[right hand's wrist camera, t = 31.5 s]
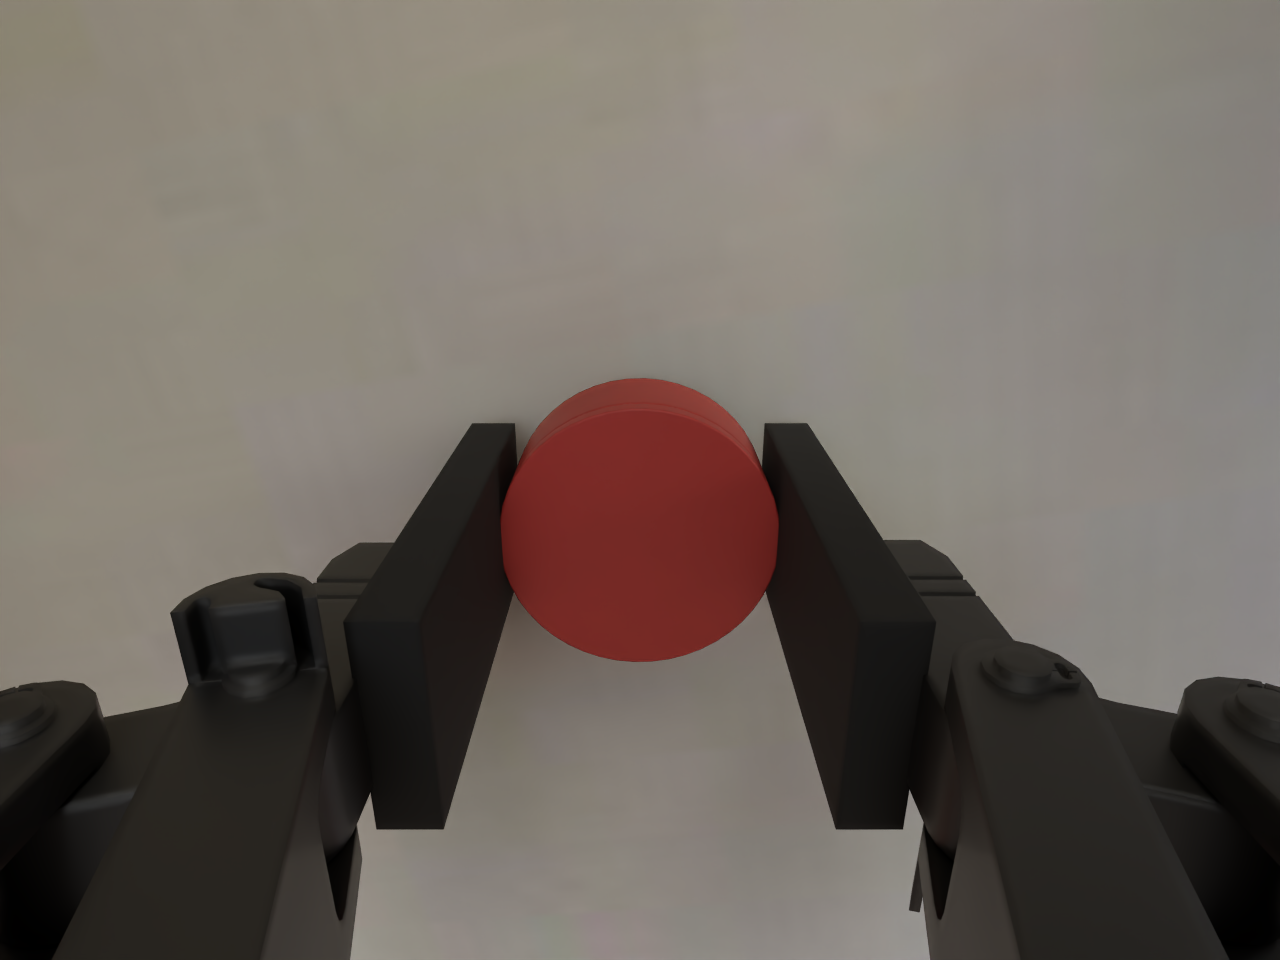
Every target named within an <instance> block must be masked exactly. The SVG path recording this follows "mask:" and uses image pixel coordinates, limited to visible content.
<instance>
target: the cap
mask: <svg viewBox="0 0 1280 960" xmlns="http://www.w3.org/2000/svg"><path fill="white" fill-rule="evenodd" d="M500 524H501V538H502V552H503V565H504V571H505V573H506V576H507V578H508V581H509V583H510V586H511V587H512V589H513V591H514V593H515V594H516V596H517V598H518V600H519V601H520V602H521V604H522V605H523V606H524V608H525V609H526V610H527V612H528V613H529V614H530V615H531V616H532V617H533V618H534V619H535V620H536V621H537V622H538V623H539V624H540V625H541V626H542V627H543V628H545V629H546V630H547V631H549V632H550V633H551V634H552V635H554V636H555V637H557V638H558V639H560V640H562V641H563V642H565V643H567V644H568V645H570V646H573V647H575V648H577V649H579V650H581V651H584V652H587V653H590V654H593V655H596V656H599V657H603V658H608V659H613V660H619V661H630V662H651V661H659V660H666V659H671V658H675V657H679V656H683V655H687V654H689V653H692V652H695V651H697V650H700V649H702V648H704V647H706V646H708V645H710V644H712V643H714V642H716V641H717V640H719V639H720V638H722V637H723V636H725V635H726V634H728V633H729V632H731V631H732V630H733V629H734V628H735V627H737V626H738V625H739V624H740V623H741V622H742V621H743V620H744V619H745V618H746V617H747V616H748V615H749V614H750V613H751V611H752V610H753V609H754V608H755V606H756V605H757V603H758V602H759V601H760V599H761V598H762V596H763V595H764V593H765V591H766V589H767V587H768V585H769V583H770V581H771V578H772V576H773V573H774V570H775V567H776V558H777V545H778V530H779V515H778V511H777V507H776V503H775V499H774V496H773V494H772V491H771V489H770V487H769V484H768V482H767V479H766V477H765V474H764V472H763V469H762V467H761V464H760V462H759V459H758V457H757V455H756V452H755V450H754V447H753V445H752V443H751V442H750V440H749V438H748V436H747V435H746V433H745V431H744V430H743V429H742V428H741V426H740V425H739V424H738V423H737V421H736V420H735V419H734V418H733V417H732V416H731V415H730V414H729V413H728V412H727V411H726V410H725V409H724V408H722V407H721V406H720V405H718V404H717V403H716V402H714V401H713V400H711V399H710V398H708V397H706V396H705V395H703V394H701V393H699V392H697V391H695V390H693V389H690V388H688V387H685V386H682V385H680V384H676V383H672V382H668V381H663V380H656V379H646V378H640V379H623V380H616V381H610V382H607V383H603V384H600V385H596V386H593V387H591V388H589V389H586V390H584V391H582V392H580V393H578V394H576V395H574V396H573V397H571V398H569V399H568V400H566V401H564V402H563V403H562V404H561V405H559V406H558V407H557V408H556V409H554V410H553V411H552V412H551V413H550V414H549V415H548V416H547V417H546V418H545V419H544V420H543V421H542V422H541V423H540V425H539V426H538V428H537V429H536V430H535V432H534V433H533V435H532V436H531V438H530V440H529V442H528V443H527V445H526V447H525V449H524V451H523V454H522V456H521V459H520V461H519V464H518V466H517V468H516V471H515V473H514V476H513V478H512V481H511V483H510V486H509V488H508V491H507V494H506V497H505V499H504V502H503V505H502V511H501V516H500Z"/></svg>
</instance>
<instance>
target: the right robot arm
mask: <svg viewBox="0 0 1280 960" xmlns="http://www.w3.org/2000/svg"><path fill="white" fill-rule="evenodd" d="M516 468H517V452H516V436H515V423H472V424H471V426H470V428H469V429H468V431H467V432H466V434H465V435H464V437H463V438H462V440H461V441H460V443H459V444H458V446H457V447H456V449H455V451H454V452H453V454H452V455H451V457H450V458H449V460H448V461H447V463H446V464H445V466H444V467H443V469H442V470H441V472H440V474H439V475H438V477H437V478H436V480H435V481H434V483H433V484H432V486H431V487H430V489H429V490H428V492H427V494H426V495H425V497H424V498H423V500H422V501H421V503H420V504H419V506H418V507H417V509H416V510H415V512H414V513H413V515H412V517H411V518H410V520H409V521H408V523H407V524H406V526H405V527H404V529H403V530H402V532H401V533H400V535H399V536H398V538H397V540H396V541H395V543H358V544H357V545H355V546H353V547H352V548H350V549H348V550H347V551H345V552H343V553H342V554H340V555H339V556H337V557H335V558H334V559H332V560H331V562H330V563H329V564H328V565H327V567H326V568H325V569H324V570H323V572H322V573H321V574H320V576H319V577H318V578H317V583H313V584H312V583H311V582H310V581H308V580H307V579H305V578H304V577H301V576H296V575H292V574H287V573H257V574H252V575H246V576H241V577H235V578H231V579H228V580H225V581H222V582H219V583H216V584H213V585H210V586H207V587H205V588H203V589H201V590H199V591H198V592H196V593H194V594H192V595H190V596H189V597H187V598H185V599H184V600H183V601H182V602H181V603H180V604H179V605H178V606H177V607H176V608H175V609H174V610H173V611H172V612H171V613H170V614H171V618H172V622H173V626H174V629H175V633H176V637H177V641H178V645H179V649H180V653H181V657H182V661H183V665H184V669H185V673H186V676H187V680H188V684H189V685H188V687H187V689H186V691H185V693H184V695H183V697H182V699H181V701H180V702H177V703H173V704H169V705H165V706H160V707H155V708H150V709H145V710H139V711H134V712H129V713H124V714H119V715H114V716H108V717H103V715H102V712H101V708H100V705H99V702H98V699H97V695H96V693H95V692H94V691H93V690H91V689H90V688H89V687H87V686H86V685H85V684H82V683H76V682H69V681H52V682H42V683H30V684H25V685H20V686H19V688H15V687H13V688H10V689H6V690H3V691H0V960H350V955H351V947H352V939H353V930H354V922H355V914H356V906H357V897H358V889H359V881H360V873H361V865H362V855H361V848H360V841H359V836H358V830H357V822H358V820H359V818H360V815H361V813H362V811H363V808H364V806H365V804H366V801H367V799H368V797H369V794H370V792H371V798H372V804H373V810H374V816H375V822H376V829H444V826H445V823H446V819H447V816H448V813H449V809H450V806H451V802H452V799H453V796H454V792H455V789H456V786H457V782H458V779H459V775H460V772H461V769H462V765H463V762H464V758H465V755H466V752H467V748H468V745H469V742H470V738H471V735H472V731H473V728H474V725H475V721H476V718H477V714H478V711H479V708H480V704H481V701H482V698H483V694H484V691H485V687H486V684H487V681H488V677H489V674H490V670H491V667H492V664H493V660H494V657H495V654H496V650H497V647H498V643H499V640H500V637H501V633H502V630H503V626H504V623H505V620H506V616H507V613H508V610H509V606H510V603H511V599H512V596H513V593H514V591H513V589H512V587H511V586H510V583H509V581H508V578H507V576H506V573H505V571H504V565H503V552H502V538H501V524H500V516H501V511H502V505H503V502H504V499H505V497H506V494H507V491H508V488H509V486H510V483H511V481H512V478H513V476H514V473H515V471H516ZM762 469H763V472H764V474H765V477H766V479H767V482H768V484H769V487H770V489H771V491H772V494H773V496H774V499H775V503H776V507H777V511H778V515H779V530H778V545H777V558H776V567H775V570H774V573H773V576H772V578H771V581H770V583H769V585H768V587H767V589H766V594H767V598H768V601H769V604H770V608H771V611H772V615H773V618H774V621H775V625H776V628H777V632H778V635H779V638H780V642H781V645H782V648H783V652H784V655H785V659H786V662H787V665H788V669H789V672H790V676H791V679H792V682H793V686H794V689H795V693H796V696H797V699H798V703H799V706H800V709H801V713H802V716H803V720H804V723H805V726H806V730H807V733H808V737H809V740H810V743H811V747H812V750H813V753H814V757H815V760H816V764H817V767H818V770H819V774H820V777H821V781H822V784H823V787H824V791H825V794H826V797H827V801H828V804H829V808H830V811H831V814H832V818H833V821H834V825H835V828H836V829H903V825H904V819H905V813H906V807H907V801H908V795H909V789H910V792H911V794H912V796H913V799H914V801H915V803H916V806H917V808H918V810H919V812H920V815H921V817H922V819H923V822H924V824H923V830H922V836H921V841H920V847H919V853H918V859H917V864H916V870H915V876H914V882H913V887H912V893H911V900H910V907H909V910H910V911H915V912H920V907H921V902H922V897H923V904H924V912H925V920H926V929H927V937H928V945H929V953H930V960H1280V687H1277V686H1274V685H1271V684H1267V683H1265V684H1262V682H1259V681H1254V680H1249V679H1236V678H1225V677H1213V678H1207V679H1200V680H1196V681H1195V682H1193V683H1192V684H1191V685H1189V686H1188V687H1187V688H1185V690H1184V693H1183V696H1182V700H1181V703H1180V706H1179V709H1178V713H1177V714H1175V713H1169V712H1164V711H1159V710H1154V709H1149V708H1143V707H1138V706H1133V705H1128V704H1122V703H1117V702H1113V701H1109V700H1105V699H1101V698H1099V697H1098V695H1097V693H1096V691H1095V689H1094V687H1093V685H1092V683H1091V682H1090V681H1089V680H1088V679H1087V677H1086V676H1085V675H1084V674H1083V673H1082V671H1081V670H1080V669H1079V668H1078V667H1076V666H1075V665H1073V664H1072V663H1070V662H1069V661H1067V660H1066V659H1064V658H1063V657H1061V656H1060V655H1058V654H1055V653H1053V652H1050V651H1048V650H1045V649H1043V648H1040V647H1038V646H1035V645H1032V644H1027V643H1023V642H1018V641H1014V640H1013V639H1012V638H1011V636H1010V635H1009V634H1008V633H1007V631H1006V630H1005V629H1004V627H1003V626H1002V625H1001V624H1000V622H999V621H998V620H997V619H996V617H995V616H994V615H993V613H992V612H991V611H990V610H989V608H988V607H987V606H986V605H985V603H984V602H983V601H982V600H981V598H980V597H979V596H976V594H975V593H976V592H975V591H974V589H973V588H972V587H971V586H970V584H969V583H968V582H967V581H966V580H963V575H962V574H961V573H960V572H959V570H958V569H957V568H956V567H955V565H954V564H953V563H952V562H951V560H950V559H949V558H948V557H947V556H946V555H944V554H942V553H941V552H939V551H937V550H936V549H934V548H933V547H931V546H929V545H928V544H926V543H924V542H923V541H921V540H883V539H882V537H881V536H880V534H879V533H878V531H877V530H876V528H875V527H874V525H873V524H872V522H871V520H870V519H869V517H868V516H867V514H866V513H865V511H864V510H863V508H862V507H861V505H860V504H859V502H858V501H857V499H856V497H855V496H854V494H853V493H852V491H851V490H850V488H849V487H848V485H847V484H846V482H845V481H844V479H843V477H842V476H841V474H840V473H839V471H838V470H837V468H836V467H835V465H834V464H833V462H832V461H831V459H830V458H829V456H828V454H827V453H826V451H825V450H824V448H823V447H822V445H821V444H820V442H819V441H818V439H817V438H816V436H815V434H814V433H813V431H812V430H811V428H810V427H809V425H808V424H807V423H765V428H764V444H763V460H762Z"/></svg>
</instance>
